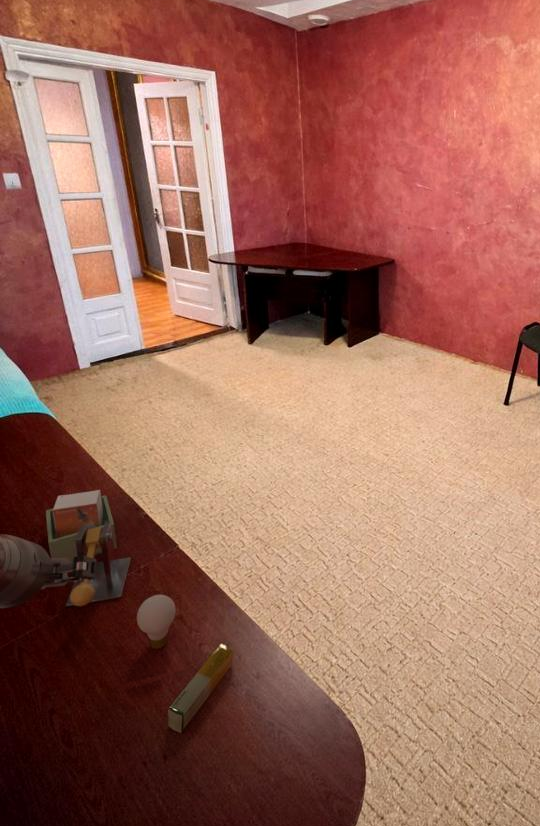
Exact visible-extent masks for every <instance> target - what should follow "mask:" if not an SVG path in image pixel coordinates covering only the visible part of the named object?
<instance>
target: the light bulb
mask: <svg viewBox="0 0 540 826" xmlns="http://www.w3.org/2000/svg"><path fill="white" fill-rule="evenodd" d="M176 611H177V610H176V604H175V602H174V600H173V599H172V597H169V596H168V595H165V594H155V595H151V596H150V597H148V598H146V599H145V600H144V601H143V602H142V604H140V606H139V608H138V610H137V613H136V624H137V626H138V628H139V630H141V631H142V632H143V633H145V634H147V636H148V638H149V642H150V647H151V648H152V649H155V650H157V649H161V648H163V647H164V646H166V645H167V643H168V641H169V638H168V636H169V635H168V633H169V629H170V626H171V625H172V623H173V622H174V619H175V617H176Z"/></svg>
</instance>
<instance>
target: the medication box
mask: <svg viewBox="0 0 540 826" xmlns="http://www.w3.org/2000/svg"><path fill="white" fill-rule="evenodd" d="M233 661H234V648H233V647H230V645H227V644H225V643H221V642H220V644H219V645H218V646H217V647H216V648H215V650H214V651H213V652H212V654H211V655H210V656H209V658H208V659H207V660H206V661H205V662H204V663H203V665H202V666H201V667H200V669H199V670H198V671H197V672H196V673H195V675H194V676H193V678H192V679H190V681H189V683H188V684H187V685H186V686H185V687H184V689H183V690H182V691H181V693H180V694H178V696H177V697H176V698H175V700H174V701H173V702H172V703H171V705H170V706H169V707H168V708H167V727H168V728H169V729H171V730H172V731H174V732H176V733H178V734H183V733H182V732H183V731H184V730H185V728H186V727H187V726H188V725H189V723H190V722H191V720H192V719H193V717H194V716H195V715H196V714H197V712H198V711H199V709H200V708H201V707H202V706H203V704H204V703H205V702H206V700H207V699H208V698H209V696H210V695H211V693H212V692H213V691H214V689H215V688H216V687H217V686H218V684H219V683H220V682H221V681H222V679H223V678H224V677H225V675H226V673H227V672H228V671H229V669H230V668H231V667H232V665H233Z"/></svg>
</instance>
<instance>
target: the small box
mask: <svg viewBox="0 0 540 826" xmlns="http://www.w3.org/2000/svg"><path fill="white" fill-rule="evenodd" d="M101 492H102V491H101V489H96V490H92V491H85V492H77V493H70V494H61V495H58V496H57V498H56V500H55V504H54V506H53V508H52V509H53V516H54V522H55V529H56V536H57V538H60V537H64V536H67V535H71V534H74V533H78V532H79V530H80V527H81V525H87V527H88V529H92V528H95V527H99V526H103V525H104V517H103V509H102V501H101V496H102V494H101Z"/></svg>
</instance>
